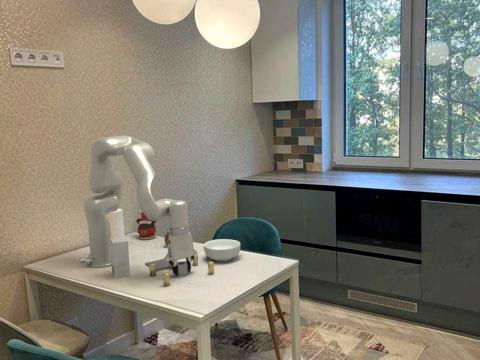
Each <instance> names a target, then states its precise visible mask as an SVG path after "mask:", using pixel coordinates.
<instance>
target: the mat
mask: <svg viewBox="0 0 480 360" xmlns="http://www.w3.org/2000/svg"><path fill="white" fill-rule="evenodd" d="M150 263H155V269H156V272H159V271H163V270H168V269H170V268H169V263H168V262H167V261H165V260H164V258H161V259H157V260H153V261H147V262H144V264H145V265H146V266H147V267H149V264H150Z"/></svg>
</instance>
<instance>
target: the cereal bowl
mask: <svg viewBox="0 0 480 360" xmlns="http://www.w3.org/2000/svg"><path fill="white" fill-rule="evenodd" d="M203 250H204V254H205V255H206V256H207V257H208V258H210V259H213V260H214V261H216V262H227V261H230V260H231V259H233V258H236V257H237V256H238V255H239V253H240V252H241V242H240V241H239V240H236V239H228V238H222V239H220V238H219V239H212V240H208V241H206V242H205V243H204V244H203Z"/></svg>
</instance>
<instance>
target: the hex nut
mask: <svg viewBox="0 0 480 360" xmlns="http://www.w3.org/2000/svg"><path fill="white" fill-rule="evenodd" d="M176 266H177V267H178V275H177V276H176V277H178V278H180V277H182V278H183V277H186V276H189V272H188V263H187V262H186V260H185V261H184V260H183V261H177V264H176Z"/></svg>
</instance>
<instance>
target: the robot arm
mask: <svg viewBox="0 0 480 360" xmlns="http://www.w3.org/2000/svg"><path fill="white" fill-rule="evenodd" d="M154 152H155V151H154V149H153V147H152V145H150V144H149V143H147V142H145V141H143V140H140V139H137V138H135V137H132V136H130V135H113V136H106V137H105V136H104V137H100V138H97V139H95V141H93V142H92V145H91V148H90V158H91V159H90V170H89V172H90V173H89V181H88V182H89V183H88V187H89V190H90V191H91V192H92V193H94V195H91V196H90V197H87V198H86V200H85V201H84V203H83V211H84V213H85V217H86V221H87V230H88V241H89V252H90V254H88V256H87V257H82V258H80V259H79V262H80V264H82V263H84V264H87V266H88V267H90V268H97V269H98V268H99V269H100V268H101V269H102V268H107V267H112V261H111V246H110V238H112V232H111V224H110V221H109V219H108V218H107V215H108V214H111V213H114V212H116V211H117V210H118V209H119V208H120V205H121V202H122V194H123V184H124V183H123V177H122V174H121V173H120V171H119V170H116V169H112V161H111V158H110V157H117V156H118V157H119V156H123V159H124V160H125V161H124V162H125V163H126V165H127V167H128V169H129V170H130V173H131V174H132V176H133V178H134V181H136V183H137V185H136V187H137V188H136V198H137V202H138V205H139V207H140V208H141V211H142V212H144V214H145V215H146V217H147V218H148V219H150V220H152V221H156V222H157V221H158V220H161V219H164V218H167V217H168V219H169V229H167V230H166V233H170V235H169V238H168V246H167V253H166V255H165V256H164V258H163V259H164V260H165V261H167V262H168V263H170V264H171V265H172V274H173V275H174V276H176V277H178V276H177V275H178V267H177V266H176V264H177V262H178V260H183V259H185V262H187V263H188V273H191V270H192V263H193V258H194V256H196V254H198V251H197V250H196V249H195V247H194V241H193V237H192V233H191V231H190V229H189V216H188V203H187V201H185V200H182V199H181V200H180V199H178V200H177V199H176V200H175V199H172V198H167V197H166V198H162V199H158V200H155V199H154V197H153V195H152V191H151V184H152V182H153V180H154V179H155V178H156V176H157V174H156V172H155V170H154V168H153V167H152V164H151V163H150V161H152V160H153V159H154V156H155V153H154ZM169 257H170V258H172V260H169Z"/></svg>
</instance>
